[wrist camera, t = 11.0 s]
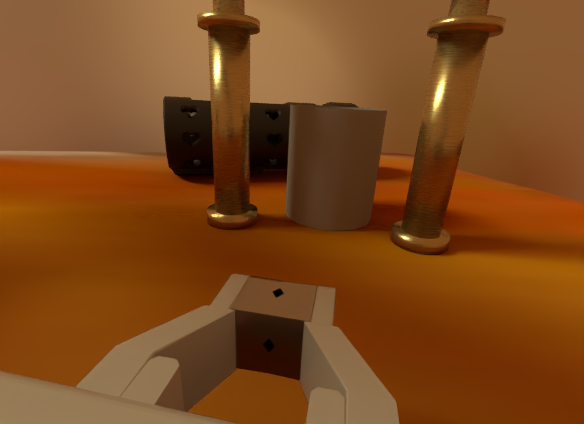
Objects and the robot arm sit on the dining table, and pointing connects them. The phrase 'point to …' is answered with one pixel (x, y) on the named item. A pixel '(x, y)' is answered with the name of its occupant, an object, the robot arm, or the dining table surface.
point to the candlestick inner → (230, 112)
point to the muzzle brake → (198, 135)
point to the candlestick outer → (444, 122)
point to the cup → (333, 165)
